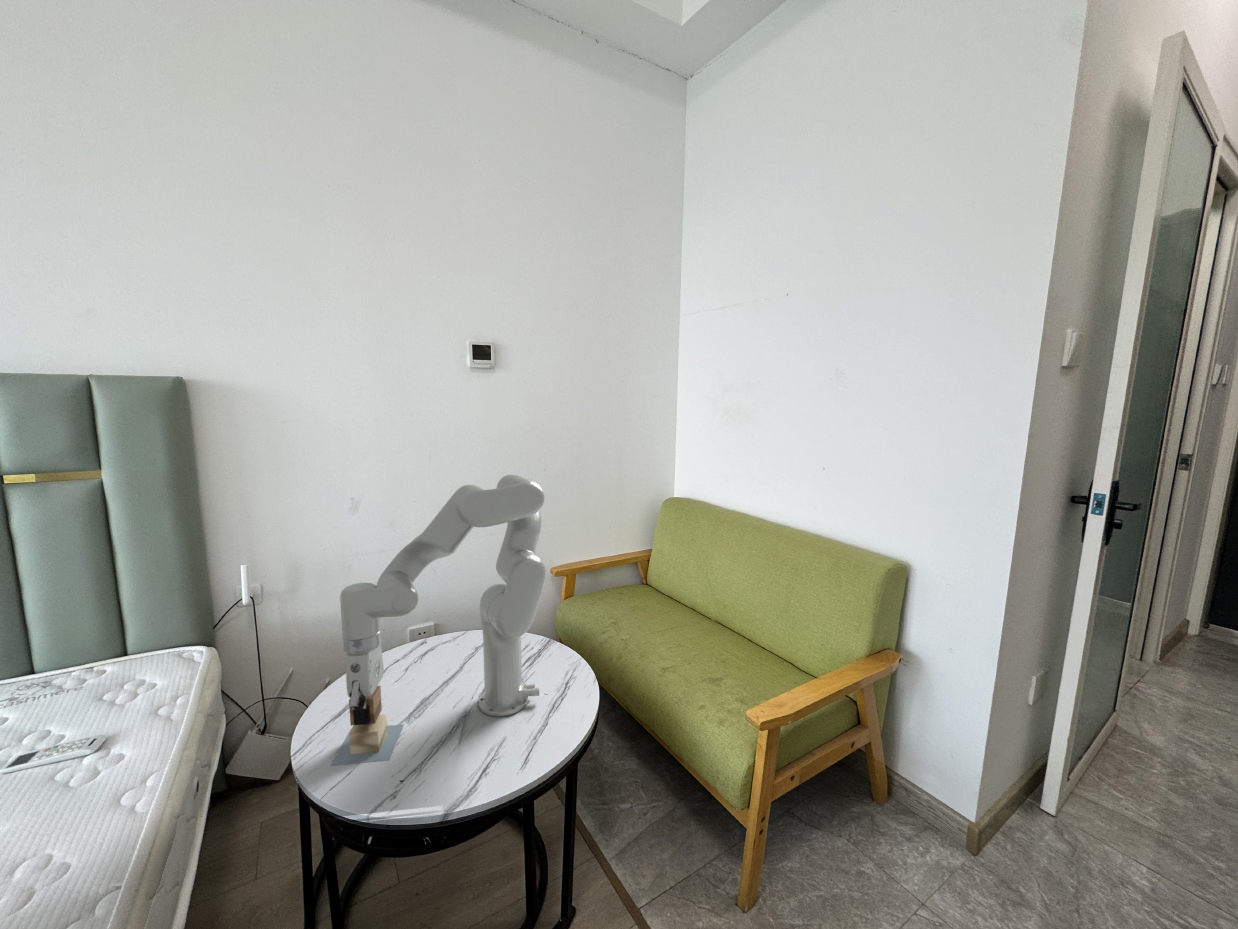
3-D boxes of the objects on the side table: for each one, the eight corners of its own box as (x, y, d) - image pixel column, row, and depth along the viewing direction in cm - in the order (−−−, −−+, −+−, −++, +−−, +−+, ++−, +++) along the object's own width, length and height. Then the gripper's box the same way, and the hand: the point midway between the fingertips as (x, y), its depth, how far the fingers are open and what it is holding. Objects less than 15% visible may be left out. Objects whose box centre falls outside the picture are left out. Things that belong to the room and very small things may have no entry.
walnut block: (381, 709, 116) (380, 685, 116) (374, 723, 112) (373, 698, 111) (358, 711, 116) (357, 687, 115) (350, 725, 111) (349, 700, 110)
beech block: (387, 733, 118) (386, 714, 117) (379, 751, 112) (377, 731, 111) (360, 736, 117) (358, 716, 116) (350, 754, 111) (348, 733, 111)
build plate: (404, 726, 121) (404, 724, 121) (389, 762, 110) (389, 760, 110) (351, 731, 120) (351, 728, 120) (330, 768, 108) (330, 765, 108)
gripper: (367, 658, 103) (371, 739, 106) (391, 621, 120) (395, 692, 122) (327, 661, 102) (333, 742, 105) (358, 623, 119) (362, 694, 121)
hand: (366, 714), depth 113 cm, fingers closed on walnut block, 5 cm apart
